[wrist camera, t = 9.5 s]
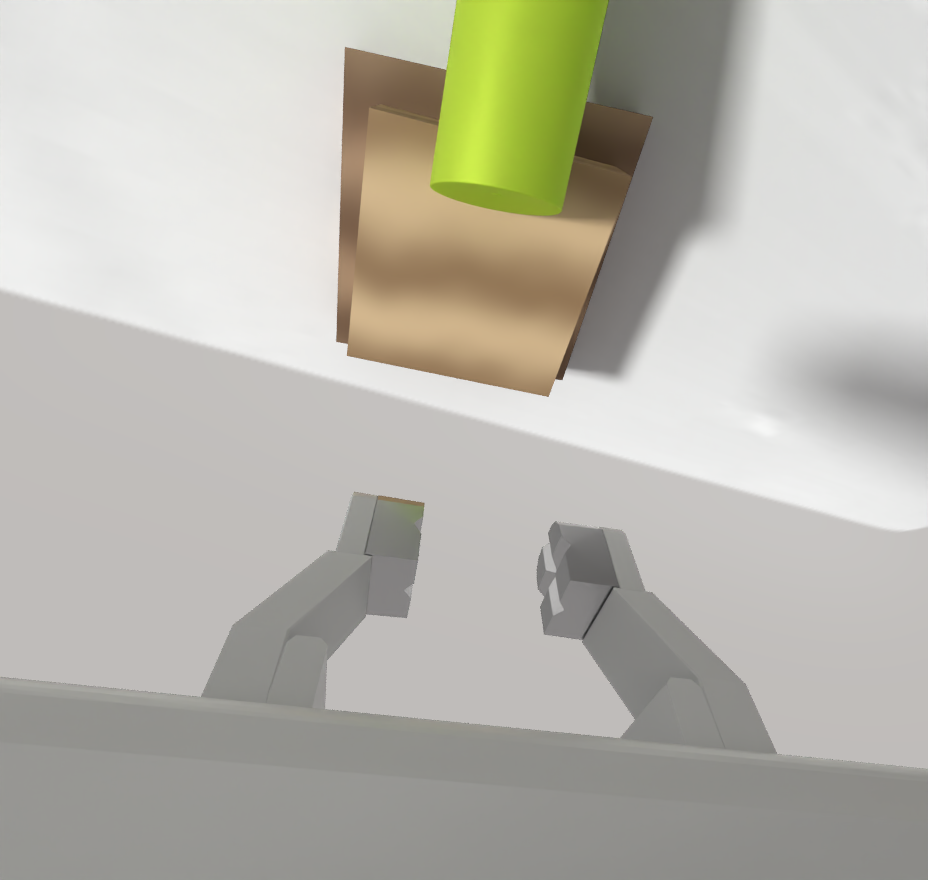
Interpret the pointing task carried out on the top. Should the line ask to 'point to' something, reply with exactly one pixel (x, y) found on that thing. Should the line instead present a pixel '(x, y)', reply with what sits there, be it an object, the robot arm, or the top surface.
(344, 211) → the walnut base slab
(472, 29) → the soap dispenser
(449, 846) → the robot arm
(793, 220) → the top surface
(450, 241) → the oak top slab
